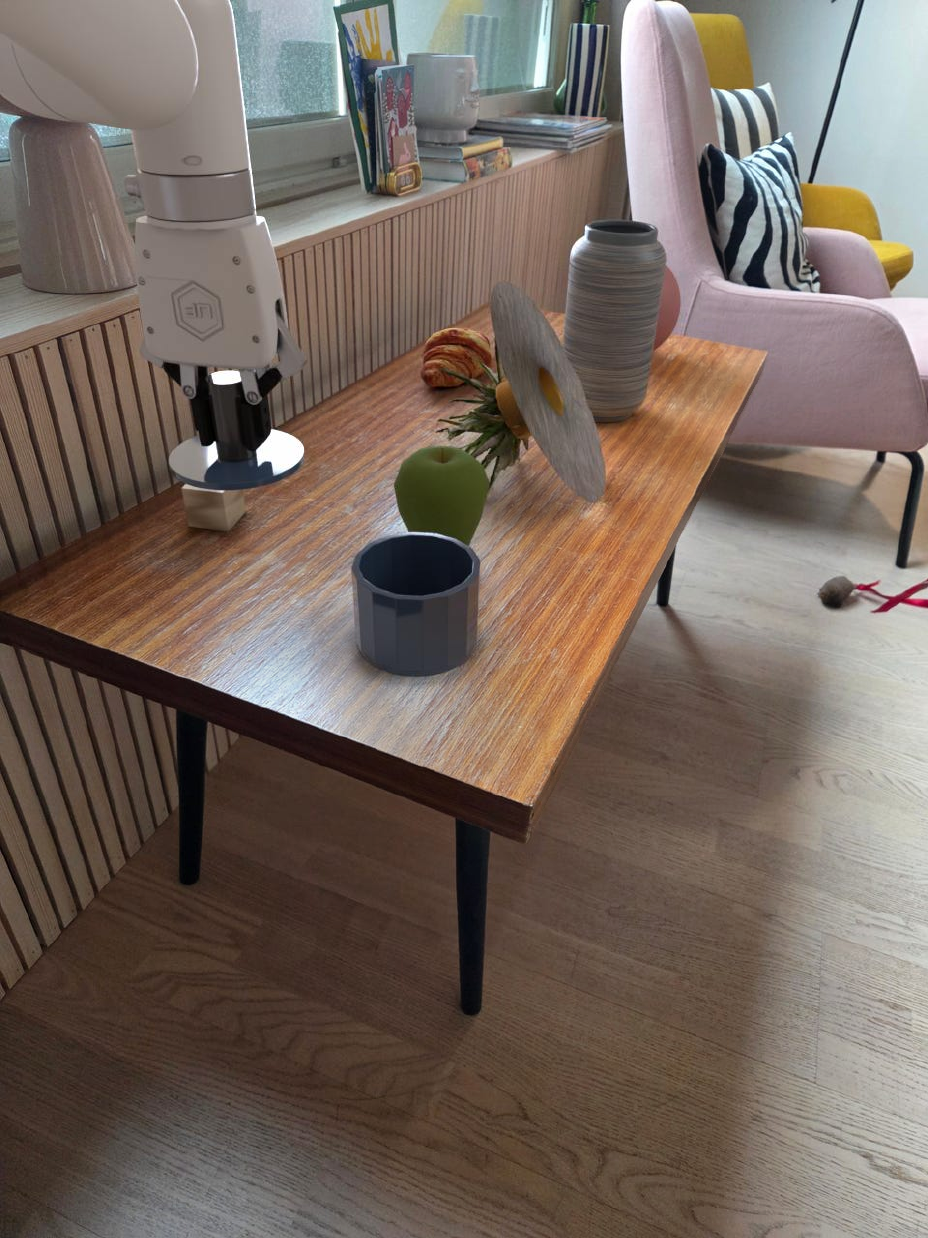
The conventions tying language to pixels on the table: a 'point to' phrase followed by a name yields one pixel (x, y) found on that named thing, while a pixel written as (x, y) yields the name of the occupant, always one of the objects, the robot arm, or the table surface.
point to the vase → (614, 313)
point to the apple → (442, 492)
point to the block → (213, 507)
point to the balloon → (667, 309)
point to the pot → (416, 602)
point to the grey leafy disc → (531, 399)
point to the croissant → (455, 356)
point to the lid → (233, 446)
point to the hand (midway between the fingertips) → (235, 440)
